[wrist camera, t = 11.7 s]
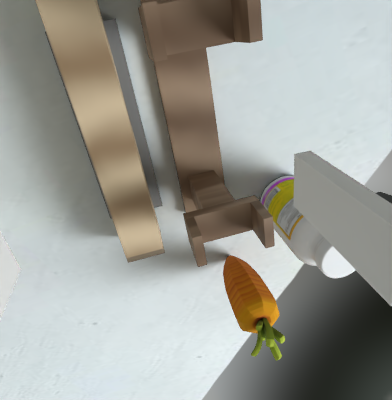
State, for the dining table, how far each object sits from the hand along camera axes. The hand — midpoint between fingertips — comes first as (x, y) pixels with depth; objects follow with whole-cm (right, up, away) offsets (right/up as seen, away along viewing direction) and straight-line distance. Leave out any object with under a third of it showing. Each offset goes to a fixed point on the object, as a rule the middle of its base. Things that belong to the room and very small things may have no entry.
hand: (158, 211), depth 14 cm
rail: (-7, +7, +18) cm, 20 cm away
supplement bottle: (+13, +1, +27) cm, 30 cm away
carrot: (+6, -7, +29) cm, 31 cm away
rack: (+1, +9, +19) cm, 21 cm away
